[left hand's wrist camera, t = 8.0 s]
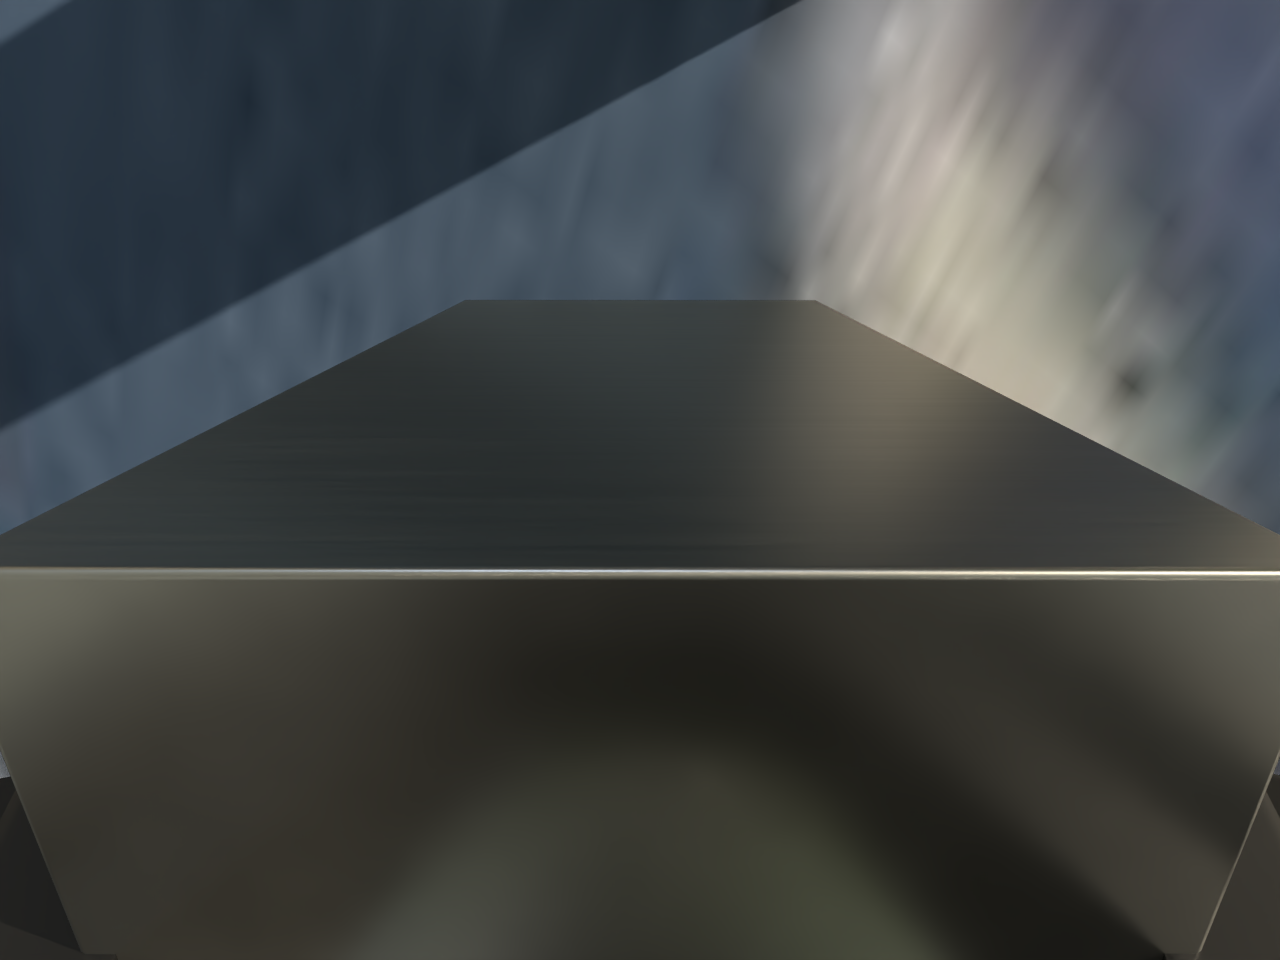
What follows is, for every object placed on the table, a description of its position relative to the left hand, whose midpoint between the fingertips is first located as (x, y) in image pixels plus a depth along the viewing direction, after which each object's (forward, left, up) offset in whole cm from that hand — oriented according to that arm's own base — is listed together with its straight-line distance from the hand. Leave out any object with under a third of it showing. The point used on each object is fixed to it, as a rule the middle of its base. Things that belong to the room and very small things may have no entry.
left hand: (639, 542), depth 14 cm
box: (+7, +2, -4) cm, 8 cm away
